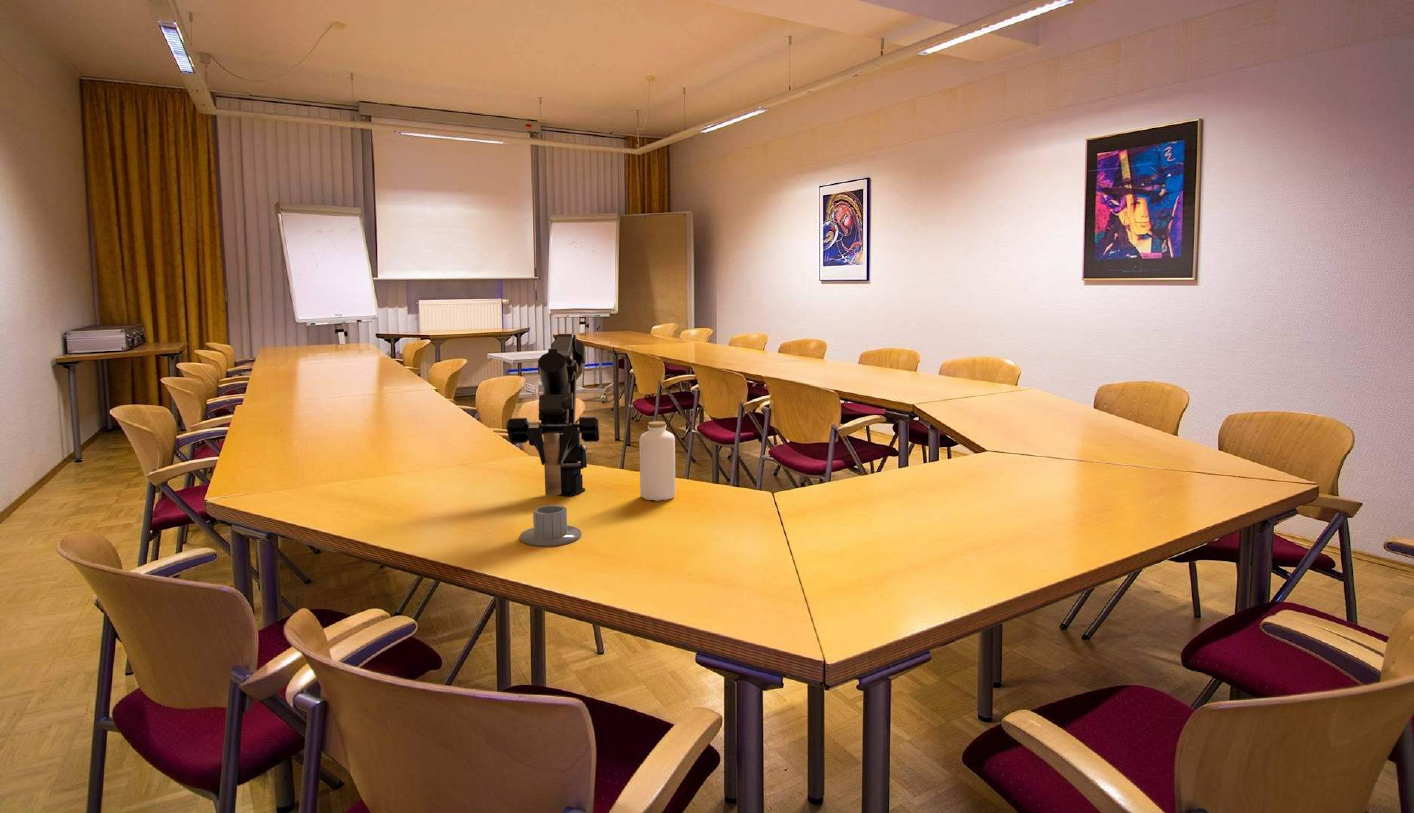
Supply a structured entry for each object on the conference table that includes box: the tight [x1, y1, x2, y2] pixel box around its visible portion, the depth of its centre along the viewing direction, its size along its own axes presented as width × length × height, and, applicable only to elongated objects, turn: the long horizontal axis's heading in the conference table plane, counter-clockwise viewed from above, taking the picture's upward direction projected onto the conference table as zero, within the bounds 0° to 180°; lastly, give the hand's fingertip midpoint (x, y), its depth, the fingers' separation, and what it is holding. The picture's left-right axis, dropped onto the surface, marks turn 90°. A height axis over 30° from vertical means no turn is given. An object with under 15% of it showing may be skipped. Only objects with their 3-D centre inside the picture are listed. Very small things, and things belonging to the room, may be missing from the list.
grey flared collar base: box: [519, 504, 582, 548], centre depth 154 cm, size 12×12×6 cm
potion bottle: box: [638, 420, 676, 502], centre depth 182 cm, size 8×8×18 cm
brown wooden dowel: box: [542, 432, 561, 497], centre depth 158 cm, size 3×3×12 cm
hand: (551, 463), depth 157 cm, fingers closed on brown wooden dowel, 3 cm apart
